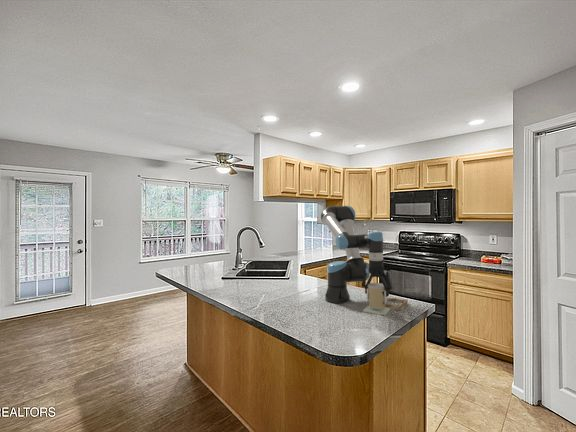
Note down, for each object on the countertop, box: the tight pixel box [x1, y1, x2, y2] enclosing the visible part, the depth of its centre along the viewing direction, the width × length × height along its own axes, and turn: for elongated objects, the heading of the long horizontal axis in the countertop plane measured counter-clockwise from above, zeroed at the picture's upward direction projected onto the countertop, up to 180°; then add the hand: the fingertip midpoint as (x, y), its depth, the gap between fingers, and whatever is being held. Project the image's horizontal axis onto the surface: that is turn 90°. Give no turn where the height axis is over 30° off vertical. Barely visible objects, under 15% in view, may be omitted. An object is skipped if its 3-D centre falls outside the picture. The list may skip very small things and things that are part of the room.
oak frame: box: [384, 296, 408, 311], centre depth 168 cm, size 15×15×2 cm
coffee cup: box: [368, 282, 386, 309], centre depth 159 cm, size 9×9×12 cm
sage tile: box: [362, 304, 392, 316], centre depth 159 cm, size 12×12×1 cm
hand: (377, 301), depth 159 cm, fingers closed on coffee cup, 9 cm apart
